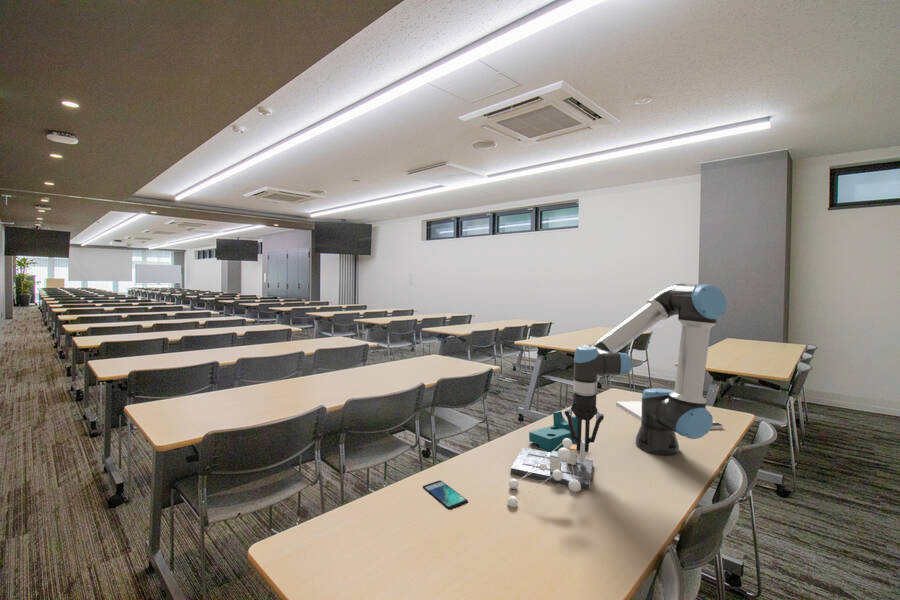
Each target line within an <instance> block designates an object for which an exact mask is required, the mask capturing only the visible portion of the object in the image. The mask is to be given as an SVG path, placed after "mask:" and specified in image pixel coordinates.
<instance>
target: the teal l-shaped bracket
mask: <svg viewBox="0 0 900 600" xmlns="http://www.w3.org/2000/svg"><path fill="white" fill-rule="evenodd" d="M552 417H553V425H550V426H547V427H543V428H539V429H535V430H533V431H529V432H528V435H529V437H528V438H529V442H531V443H533V444H536V445H538V446H539V449H540V450H541V451H546V452H552V451H553V450H554V449H555V450H554V451H558V450H559V449H560V448H564V446H563V444H561V443H562V442H563V440H564V439H565V438H569V439H570V440H571V441H572V444H574V445H577V441H576V440H574V439H572V437H571V433H570V428H569V423H568V420H566V419H565V418H564V416H563V412H562V411H561V410H557V411H553V413H552ZM572 419H573V424H574V429H575V433H576V435H577V425H578V418H577V417H576V416H575V415H573V416H572ZM560 444H561V445H560ZM559 445H560V446H559ZM558 446H559V447H558ZM557 447H558V448H557Z"/></svg>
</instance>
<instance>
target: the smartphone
mask: <svg viewBox="0 0 900 600" xmlns="http://www.w3.org/2000/svg"><path fill="white" fill-rule="evenodd" d="M422 488H423V490H425V491H426V492H427V493H428V494H430V495H431V496H432V497H433V498H434V499H435V500H437V501H438V502H439V503H440V504H441V505H442V506H444V507H445V508H446V509H447V510H449V509H451V510H453V508H454V509H456V508H459V507H461V506H464V505H466V504H468V503H469V500H468V499H467V498H465V497H464V496H463V495H462V494H460V493H459V492H457V491H456V490H454V489H453V488H452V487H450V486H449V485H448V484H447V483H446V482H444V481H442V480H437V481H434V482H431V483H428V484H424V485H422Z"/></svg>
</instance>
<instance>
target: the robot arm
mask: <svg viewBox="0 0 900 600" xmlns="http://www.w3.org/2000/svg"><path fill="white" fill-rule="evenodd" d="M727 307H728V299H727V297H726V295H725V292H723V290H722V289H721V288H719V287H718V286H716V285H715V284H714V285H713V284H705V283H676V284H673V285H670V286H668V287H666V288H665V289H663V290H660V291H659V292H657V293H656V294H655V295H653V296H652V297H650V298H648V300H647V301H646V304H645V305H644V306H643V307H641V308H640V309H639V310H637V311H635V313H632V315H630V316H629V317H628V318H626V319H625V320H623V321H622V322H621V323H620V324H618V325H617V326H616V327H614V328H612V330H610V331H609V332H608V333H607V332H606V334H604V335H603V336H601V338H599V339H598V340H596V341H595V342H593V343H592V344H585V345H582V346H578V347H576V348H575V350H574V357H573V363H574V364H573V382H572V383H573V385H572V386H573V389H572V390H573V392H572V393H573V394H572V405H571V407H570V408H568V409H567V408H565V410H564V415H565V416H566V418H567V422H568V423H569V428H570V433H571V437H572V439H574V440H576V441H577V444H576V445H577V452H579V458H580V462H584V461H585V459H586V453H589V448H590V443H595V441H596V437H597V434H598V431H599V428H600V425H601V423H602V422H603V420H604V417H605V416H604V414H603V413H600V412H599V411H598V408H597V389H598V385H597V384H598V376H623V375H628V374H630V372H631V371H632V368H633V366H632V365H633V361H632V358H631V356H630V355H629V354H628V353H625V352H619V351H620V350H622V349H624V348H625V347H626V346H627V345H629V344H630V343H632V341H634V340H635V339H637V338H638V337H640V335H642V334H644V333H645V332H647V330H650V329H651V328H652V327H653V326H654V325H657V324H658V323H659V322H660V321H666V320H667V319H669V318H670V317H673V316H677V320H678V322H679V323H680V324H681V332H680V341H679V348H678V358H677V364H676V365H677V367H676V375H675V383H674V389H668V388H659V387H657V388H655V387H652V388H645V389H644V390H643V391H642V395H641V401H642V415H641V420H640V423H641V424H640V427H639V430H638V432H637V434H636V436H635V445H636V447H637V448H639V449H640V450H643V451H645V452H647V453H650V454H655V455H659V456H674V455H677V454H679V449H680V445H679V442H678V438H677V435H676V433H677V434H678V435H679V436H682V437H685V438H687V439H691V440H697V439H698V440H699V439H701V438H704V437H705V435H707V434H709V432H710V430H712V429H711V427H712V424H713V421H714V419H713V418H714V417H713V415H712V413H711V412H710V411H709V410H708V409H707V400H706V398H705V397H704V396H703V392H704V386H705V385H704V384H705V376H706V370H707V369H706V367H707V359H708V352H709V351H708V350H709V342H710V334H711V328H713V327H714V326H716V325H717V320H718V319H720V318H721V317H723V316H724V314H725V313H726V311H727V309H728V308H727ZM573 414H574V416H576V417H577V418H578V425H577V435H576V433H575V429H574V424H573V419H572V417H573V416H572V415H573ZM594 417H595V419H596V421H595V423H594V427H593V429H592V433H591V436H590V427H591V426H590V424H591V423H590V421H591V420H592V419H593V418H594ZM583 421H585V422H584V423H585V428H584V429H585V430H584V440H583V439H582V432H583V431H582V427H583V426H582V425H583Z"/></svg>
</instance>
